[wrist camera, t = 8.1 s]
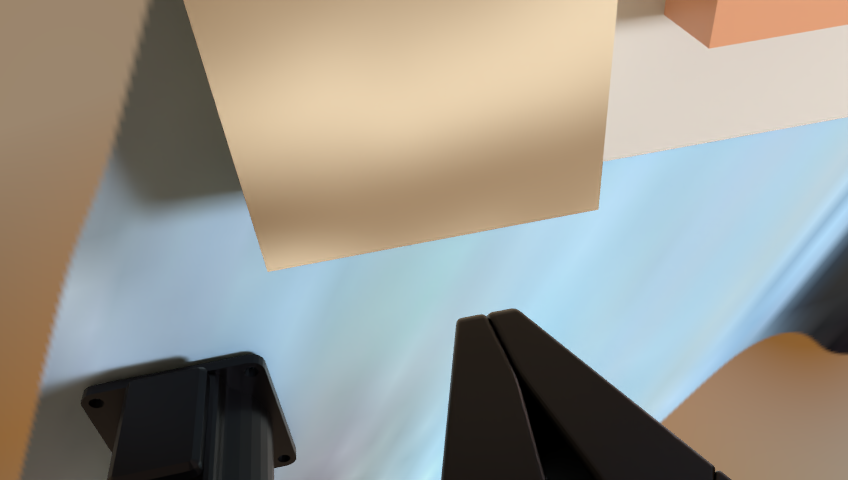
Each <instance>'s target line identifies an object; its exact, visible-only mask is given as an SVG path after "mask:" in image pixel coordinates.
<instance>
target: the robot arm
mask: <svg viewBox="0 0 848 480" xmlns="http://www.w3.org/2000/svg"><path fill="white" fill-rule="evenodd" d="M249 367H254V368H253V369H249ZM81 405H82V407H83V409H84V410H85V412H86V413H87V415H88V417H89V418H90V420H91V421H92V423H93V424H94V426H95V427H96V429H97V430H98V432H99V433H100V435H101V436H102V438H103V440H104V441H105V443H106V444H107V446H108V447H109V449H110V450H111V452H112V458H111V463H110V468H109V473H108V478H107V480H274V468H277V467H282V466H287V465H290V464H292V463H293V462H294V461H295V460H296V447H295V444H294V442H293V439H292V436H291V433H290V430H289V427H288V425H287V422H286V419H285V416H284V413H283V411H282V408H281V405H280V402H279V399H278V396H277V394H276V391H275V388H274V385H273V382H272V379H271V377H270V374H269V371H268V368H267V365H266V363H265V360H264V359H263V358H262V357H260V356H259V355H254V354H253V355H244V356H239V357H234V358H229V359H224V360H219V361H214V362H209V363H204V364H199V365H194V366H189V367H184V368H179V369H174V370H169V371H164V372H159V373H154V374H149V375H144V376H139V377H134V378H129V379H124V380H119V381H114V382H109V383H104V384H99V385H94V386H91V387H88V388H87V389H85V390H84V393H83V396H82V400H81ZM441 480H731V479H730V478H729V477H727V476H726V475H725V474H724V473H722V472H721V471H716V472H715V467H714V466H713V465H712V464H711V463H709V462H708V461H707V460H706V459H704V458H703V457H702V456H701V455H699V454H698V453H697V452H696V451H694V450H693V449H692V448H691V447H689V446H688V445H687V444H686V443H684V442H683V441H682V440H681V439H679V438H678V437H677V436H675V435H674V434H673V433H672V432H671V431H669V430H668V429H667V428H666V427H664V426H663V425H662V424H661V423H659V422H658V421H657V420H656V419H654V418H653V417H652V416H651V415H649V414H648V413H647V412H646V411H644V410H643V409H642V408H641V407H639V406H638V405H637V404H636V403H634V402H633V401H632V400H631V399H629V398H628V397H627V396H626V395H624V394H623V393H622V392H621V391H619V390H618V389H617V388H615V387H614V386H613V385H612V384H610V383H609V382H608V381H607V380H605V379H604V378H603V377H602V376H600V375H599V374H598V373H597V372H595V371H594V370H593V369H592V368H590V367H589V366H588V365H587V364H585V363H584V362H583V361H582V360H580V359H579V358H578V357H577V356H575V355H574V354H573V353H572V352H570V351H569V350H568V349H567V348H565V347H564V346H563V345H562V344H560V343H559V342H558V341H557V340H555V339H554V338H553V337H552V336H550V335H549V334H548V333H547V332H545V331H544V330H543V329H542V328H540V327H539V326H538V325H537V324H535V323H534V322H533V321H532V320H530V319H529V318H528V317H527V316H525V315H524V314H523V313H522V312H520V311H519V310H517V309H507V310H502V311H496V312H491V313H490V314H488V315H487V317H486V316H485V315H483V314H480V315H475V316H470V317H465V318H460V319H459V320H458V321H457V323H456V332H455V342H454V352H453V363H452V373H451V384H450V394H449V404H448V415H447V425H446V435H445V446H444V456H443V467H442V477H441Z"/></svg>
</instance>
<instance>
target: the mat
mask: <svg viewBox="0 0 848 480" xmlns="http://www.w3.org/2000/svg"><path fill="white" fill-rule="evenodd" d="M665 2H666V0H618V4H617V15H616V25H615V36H614V47H613V57H612V68H611V79H610V89H609V100H608V111H607V122H606V132H605V143H604V154H603V161H609V160H614V159H620V158H625V157H631V156H636V155H642V154H647V153H653V152H658V151H664V150H669V149H675V148H680V147H686V146H691V145H697V144H702V143H708V142H713V141H719V140H724V139H730V138H735V137H741V136H746V135H751V134H757V133H762V132H768V131H773V130H779V129H784V128H790V127H795V126H801V125H806V124H812V123H817V122H823V121H828V120H834V119H839V118H845V117H848V25H842V26H837V27H831V28H825V29H819V30H814V31H808V32H802V33H796V34H791V35H785V36H779V37H773V38H767V39H762V40H756V41H750V42H744V43H739V44H733V45H727V46H721V47H716V48H710V49H709V48H707V47H706V46H705V45H703V44H702V43H701V42H699V41H698V40H697V39H695V38H694V37H693V36H691V35H690V34H689V33H688V32H686V31H685V30H684V29H682V28H681V27H680V26H678V25H677V24H676V23H674V22H673V21H672V20H670V19H669V18H668V17H666V16H665V15H664V9H665Z"/></svg>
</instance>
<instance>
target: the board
mask: <svg viewBox="0 0 848 480" xmlns="http://www.w3.org/2000/svg"><path fill="white" fill-rule="evenodd" d="M183 1H184V4H185V8H186V11H187V14H188V17H189V20H190V24H191V27H192V30H193V33H194V36H195V40H196V43H197V46H198V49H199V52H200V56H201V59H202V62H203V65H204V69H205V72H206V75H207V78H208V81H209V85H210V88H211V91H212V94H213V97H214V101H215V104H216V107H217V110H218V114H219V117H220V120H221V123H222V126H223V130H224V133H225V136H226V139H227V142H228V146H229V149H230V152H231V155H232V159H233V162H234V165H235V168H236V171H237V175H238V178H239V181H240V184H241V187H242V191H243V194H244V197H245V200H246V204H247V207H248V210H249V213H250V216H251V220H252V223H253V226H254V229H255V232H256V236H257V239H258V242H259V245H260V249H261V252H262V255H263V258H264V261H265V265H266V268H267V271H268V272H269V271H275V270H280V269H285V268H291V267H296V266H301V265H306V264H312V263H317V262H322V261H328V260H333V259H338V258H344V257H349V256H354V255H359V254H365V253H370V252H375V251H381V250H386V249H391V248H397V247H402V246H407V245H412V244H418V243H423V242H428V241H434V240H439V239H444V238H450V237H455V236H460V235H465V234H471V233H476V232H481V231H487V230H492V229H497V228H502V227H508V226H513V225H518V224H524V223H529V222H534V221H540V220H545V219H550V218H555V217H561V216H566V215H571V214H577V213H582V212H587V211H593V210H598V207H599V196H600V186H601V175H602V164H603V154H604V143H605V132H606V122H607V111H608V100H609V89H610V79H611V68H612V57H613V47H614V36H615V25H616V15H617V4H618V0H183Z"/></svg>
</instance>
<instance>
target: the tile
mask: <svg viewBox="0 0 848 480" xmlns="http://www.w3.org/2000/svg"><path fill="white" fill-rule="evenodd" d="M664 15H665V16H666V17H668V18H669V19H670V20H672V21H673V22H674V23H676V24H677V25H678V26H680V27H681V28H682V29H684V30H685V31H686V32H688V33H689V34H690V35H691V36H693V37H694V38H695V39H697V40H698V41H699V42H701V43H702V44H703V45H705V46H706V47H707V48H709V49H710V48H716V47H721V46H727V45H733V44H739V43H744V42H750V41H756V40H762V39H767V38H773V37H779V36H785V35H791V34H796V33H802V32H808V31H814V30H819V29H825V28H831V27H837V26H842V25H848V0H666V2H665V9H664Z"/></svg>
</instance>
